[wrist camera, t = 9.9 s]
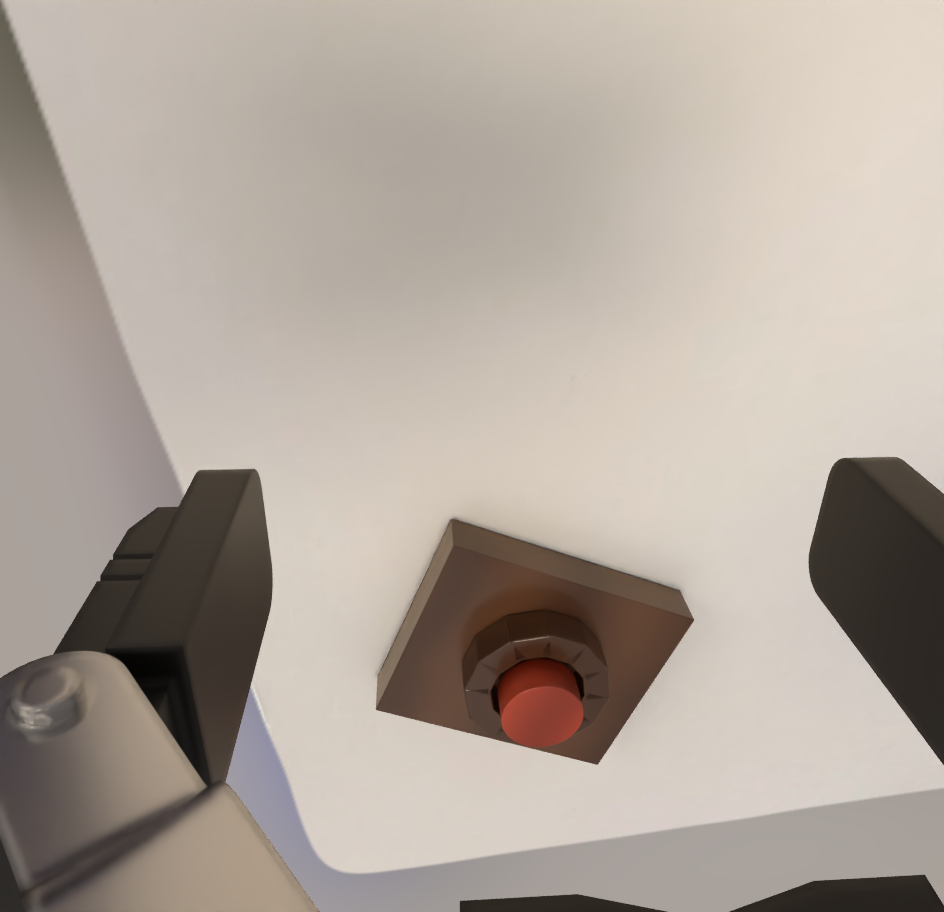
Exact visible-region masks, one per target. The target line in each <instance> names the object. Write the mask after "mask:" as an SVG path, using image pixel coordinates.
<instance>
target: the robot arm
mask: <svg viewBox="0 0 944 912" xmlns="http://www.w3.org/2000/svg"><path fill="white" fill-rule="evenodd" d="M809 572H810V578H811V582H812V585H813V587H814V590H815V592H816V593H817V595H818V597H819V598H820V599H821V601H822V602H823V603H824V605H825V606H826V607H827V609H828V610H829V611H830V613H831V614H832V615H833V617H834V618H835V619H836V621H837V622H838V623H839V625H840V626H841V628H842V629H843V630H844V632H845V633H846V634H847V636H848V637H849V638H850V640H851V641H852V642H853V644H854V645H855V646H856V648H857V649H858V650H859V652H860V653H861V654H862V656H863V657H864V658H865V660H866V661H867V662H868V664H869V665H870V667H871V668H872V669H873V671H874V672H875V673H876V675H877V676H878V677H879V679H880V680H881V681H882V683H883V684H884V685H885V687H886V688H887V689H888V691H889V692H890V693H891V695H892V696H893V697H894V699H895V700H896V701H897V703H898V704H899V706H900V707H901V708H902V710H903V711H904V712H905V714H906V715H907V716H908V718H909V719H910V720H911V722H912V723H913V724H914V726H915V727H916V728H917V730H918V731H919V732H920V734H921V735H922V736H923V738H924V739H925V740H926V742H927V743H928V745H929V746H930V747H931V749H932V750H933V751H934V753H935V754H936V755H937V757H938V758H939V759H940V761H941V762H942V763H943V765H944V494H943V493H942V492H941V491H939V490H938V489H937V488H936V487H935V486H933V485H932V484H931V483H930V482H929V481H927V480H926V479H925V478H924V477H923V476H921V475H920V474H919V473H918V472H917V471H915V470H914V469H913V468H912V467H911V466H909V465H908V464H907V463H906V462H905V461H903V460H902V459H900V458H897V457H872V458H843V459H840V460H838V461H837V462H836V463H835V464H834V465H833V467H832V469H831V471H830V474H829V477H828V481H827V484H826V488H825V492H824V496H823V500H822V504H821V508H820V512H819V516H818V520H817V524H816V528H815V532H814V536H813V540H812V543H811V547H810V552H809ZM272 580H273V579H272V563H271V555H270V548H269V540H268V532H267V525H266V517H265V509H264V502H263V494H262V487H261V481H260V477H259V474H258V472H257V470H255V469H234V470H199V471H198V472H197V473H196V475H195V476H194V478H193V480H192V482H191V484H190V486H189V488H188V490H187V492H186V494H185V496H184V497H183V499H182V501H181V504H180V505H179V507H158V508H156V509H155V510H154V511H152V512H151V513H150V514H148V515H147V516H146V517H144V518H143V519H142V520H140V521H139V522H138V523H136V524H135V525H134V526H132V527H131V528H130V529H129V530H128V531H127V533H126V534H125V536H124V537H123V539H122V541H121V543H120V544H119V546H118V547H117V549H116V551H115V552H114V554H113V560H110V561H109V563H108V564H107V566H106V567H105V569H104V571H103V572H102V574H101V580H100V581H97V582H96V584H95V586H94V587H93V589H92V591H91V592H90V594H89V596H88V597H87V599H86V601H85V602H84V604H83V606H82V607H81V609H80V611H79V612H78V614H77V616H76V617H75V619H74V621H73V622H72V624H71V626H70V627H69V629H68V631H67V632H66V634H65V636H64V638H63V639H62V641H61V642H60V644H59V646H58V647H57V649H56V651H55V652H54V654H53V655H50V656H47V657H43V658H40V659H37V660H34V661H32V662H29V663H27V664H25V665H23V666H20V667H18V668H16V669H15V670H13V671H11V672H9V673H8V674H6V675H4V676H3V677H1V678H0V912H320V911H319V910H318V909H317V907H316V906H315V904H314V903H313V901H312V900H311V899H310V897H309V896H308V894H307V893H306V892H305V890H304V889H303V887H302V886H301V885H300V883H299V882H298V880H297V879H296V877H295V876H294V875H293V873H292V872H291V870H290V869H289V867H288V866H287V865H286V863H285V862H284V860H283V859H282V857H281V856H280V855H279V853H278V852H277V850H276V849H275V848H274V846H273V845H272V843H271V842H270V841H269V839H268V838H267V836H266V835H265V833H264V832H263V831H262V829H261V828H260V826H259V825H258V823H257V822H256V821H255V819H254V818H253V816H252V815H251V814H250V812H249V811H248V809H247V808H246V806H245V805H244V804H243V802H242V801H241V799H240V798H239V797H238V795H237V794H236V793H235V791H234V790H233V789H232V788H231V787H230V786H229V785H228V784H227V783H226V782H225V781H226V777H227V774H228V770H229V766H230V762H231V758H232V755H233V750H234V747H235V743H236V739H237V735H238V731H239V728H240V724H241V720H242V716H243V712H244V708H245V704H246V701H247V697H248V693H249V689H250V685H251V681H252V678H253V674H254V670H255V666H256V662H257V658H258V655H259V651H260V647H261V643H262V639H263V635H264V631H265V628H266V624H267V620H268V616H269V612H270V607H271V600H272ZM460 912H665V911H661V910H655V909H650V908H645V907H640V906H635V905H629V904H624V903H619V902H614V901H609V900H604V899H599V898H594V897H588V896H583V895H578V894H575V895H559V896H541V897H523V898H505V899H488V900H470V901H460ZM730 912H944V905H943V904H942V902H941V900H940V899H939V897H938V895H937V894H936V892H935V891H934V889H933V888H932V886H931V884H930V883H929V881H928V880H927V878H926V876H925V875H914V876H895V877H877V878H861V879H860V878H859V879H841V880H824V881H813V882H810V883H807V884H804V885H802V886H799V887H796V888H793V889H791V890H788V891H785V892H782V893H780V894H777V895H774V896H771V897H769V898H766V899H763V900H761V901H758V902H755V903H752V904H749V905H747V906H744V907H741V908H738V909H736V910H733V911H730Z"/></svg>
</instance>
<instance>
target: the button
mask: <svg viewBox="0 0 944 912" xmlns="http://www.w3.org/2000/svg"><path fill="white" fill-rule="evenodd" d="M497 693H498V702H499V709H500V717H501V724H502V727H503V730H504V731H505V733H506V734H507V735H508V736H509V738H511V739H512V740H513V741H515V742H517V743H519V744H521V745H525V746H529V747H547V746H552V745H555V744H558V743H560V742H563V741H564V740H566V739H568V738H569V737H571V736H572V735H573V734H574V733H575V732H576V731H577V730H578V728H579V727H580V725H581V723H582V720H583V715H584V710H583V705H582V702H581V698H580V694H579V690H578V686H577V682H576V679H575V676H574V674H573V673H572V672H571V670H570V669H569V668H568V667H566V666H565V665H564V664H562V663H560V662H557V661H555V660H550V659H531V660H527V661H524V662H521V663H519V664H517V665H515V666H513V667H512V668H510V669H509V670H508V671H507V672H506V673H505V674H504V675H503V677H502V678H501V680H500V682H499V685H498V690H497Z"/></svg>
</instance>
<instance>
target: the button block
mask: <svg viewBox="0 0 944 912" xmlns="http://www.w3.org/2000/svg"><path fill="white" fill-rule="evenodd" d="M693 621H694V618H693V616H692V614H691V612H690V610H689V608H688V606H687V604H686V602H685V600H684V598H683V596H682V594H681V592H680V591H678V590H675V589H672V588H669V587H665V586H662V585H659V584H656V583H653V582H650V581H646V580H643V579H640V578H637V577H634V576H631V575H627V574H624V573H621V572H618V571H615V570H611V569H608V568H605V567H602V566H599V565H596V564H592V563H589V562H586V561H583V560H580V559H577V558H573V557H570V556H567V555H564V554H561V553H558V552H554V551H551V550H548V549H545V548H542V547H538V546H535V545H532V544H529V543H526V542H523V541H519V540H516V539H513V538H510V537H507V536H504V535H500V534H497V533H494V532H491V531H488V530H485V529H481V528H478V527H475V526H472V525H469V524H466V523H462V522H459V521H456V520H453V519H452V520H451V521H450V523H449V525H448V528H447V530H446V532H445V534H444V536H443V538H442V540H441V543H440V545H439V547H438V549H437V551H436V553H435V556H434V558H433V560H432V562H431V564H430V566H429V568H428V571H427V573H426V575H425V577H424V579H423V581H422V583H421V586H420V588H419V590H418V592H417V594H416V596H415V598H414V601H413V603H412V605H411V607H410V609H409V611H408V614H407V616H406V618H405V620H404V622H403V624H402V626H401V629H400V631H399V633H398V635H397V637H396V639H395V641H394V644H393V646H392V648H391V650H390V652H389V654H388V656H387V659H386V661H385V663H384V665H383V667H382V669H381V672H380V674H379V676H378V681H377V699H376V710H379V711H383V712H387V713H391V714H395V715H399V716H403V717H407V718H411V719H415V720H419V721H423V722H427V723H431V724H435V725H439V726H443V727H447V728H451V729H455V730H459V731H463V732H467V733H471V734H475V735H479V736H484V737H488V738H492V739H496V740H500V741H504V742H508V743H512V744H516V745H520V746H524V747H528V748H532V749H536V750H540V751H544V752H548V753H552V754H556V755H560V756H564V757H568V758H572V759H576V760H580V761H585V762H589V763H593V764H598V763H599V762H600V760H601V759H602V757H603V756H604V754H605V753H606V751H607V750H608V748H609V747H610V745H611V744H612V742H613V741H614V739H615V738H616V736H617V735H618V733H619V732H620V730H621V729H622V728H623V726H624V725H625V723H626V722H627V720H628V719H629V717H630V716H631V714H632V713H633V711H634V710H635V708H636V707H637V705H638V704H639V702H640V701H641V699H642V698H643V696H644V695H645V693H646V692H647V690H648V689H649V687H650V686H651V684H652V683H653V681H654V680H655V678H656V677H657V675H658V674H659V672H660V671H661V669H662V668H663V666H664V665H665V663H666V662H667V660H668V659H669V657H670V656H671V654H672V653H673V651H674V650H675V648H676V647H677V645H678V644H679V642H680V641H681V639H682V638H683V636H684V635H685V633H686V632H687V630H688V629H689V627H690V626H691V624H692V623H693ZM531 659H550V660H555V661H557V662H560V663H562V664H564V665H565V666H566V667H568V668H569V669H570V670H571V672H572V673H573V674H574V676H575V679H576V682H577V686H578V690H579V694H580V698H581V702H582V705H583V710H584V715H583V720H582V723H581V725H580V727H579V728H578V730H577V731H576V732H575V733H574V734H573V735H572V736H571V737H569V738H568V739H566V740H564V741H563V742H560V743H558V744H555V745H552V746H547V747H529V746H525V745H521V744H519V743H517V742H515V741H513V740H512V739H511V738H509V736H508V735H507V734H506V733H505V731H504V730H503V727H502V724H501V717H500V709H499V702H498V693H497V690H498V685H499V682H500V680H501V678H502V677H503V675H504V674H505V673H506V672H507V671H508V670H509V669H510V668H512V667H513V666H515V665H517V664H519V663H521V662H524V661H527V660H531Z"/></svg>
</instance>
